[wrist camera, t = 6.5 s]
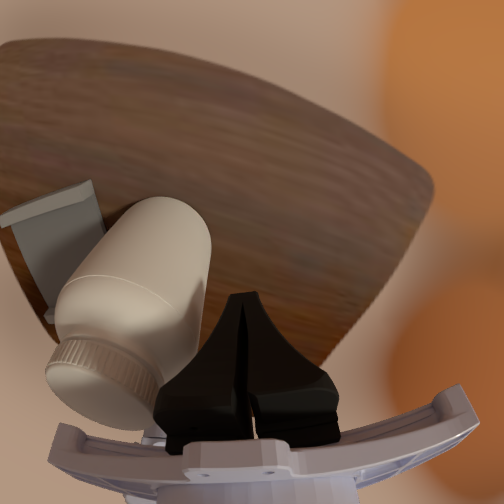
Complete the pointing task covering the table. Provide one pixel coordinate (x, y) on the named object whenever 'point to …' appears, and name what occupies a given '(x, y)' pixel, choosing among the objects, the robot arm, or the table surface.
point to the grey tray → (56, 236)
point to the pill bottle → (131, 314)
